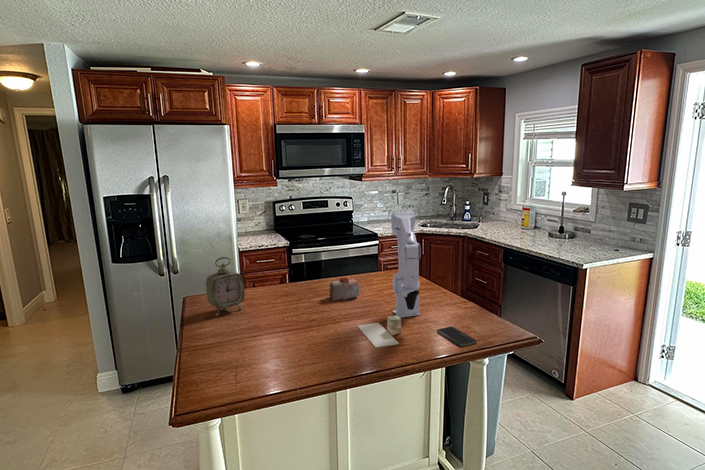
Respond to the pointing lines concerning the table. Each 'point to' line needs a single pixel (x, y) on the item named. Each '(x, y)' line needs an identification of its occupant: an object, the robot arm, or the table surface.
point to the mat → (377, 335)
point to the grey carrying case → (344, 289)
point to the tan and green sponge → (394, 325)
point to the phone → (456, 336)
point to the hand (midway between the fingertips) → (410, 309)
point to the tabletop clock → (225, 288)
